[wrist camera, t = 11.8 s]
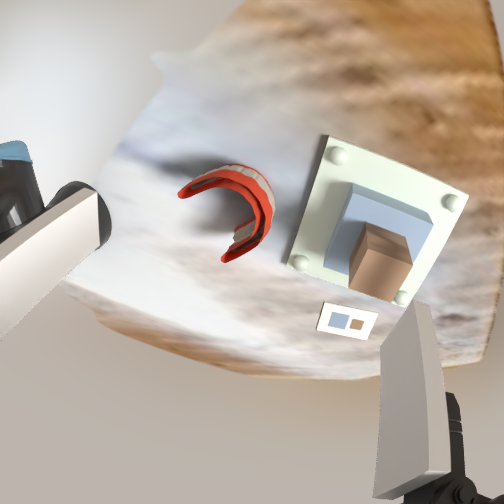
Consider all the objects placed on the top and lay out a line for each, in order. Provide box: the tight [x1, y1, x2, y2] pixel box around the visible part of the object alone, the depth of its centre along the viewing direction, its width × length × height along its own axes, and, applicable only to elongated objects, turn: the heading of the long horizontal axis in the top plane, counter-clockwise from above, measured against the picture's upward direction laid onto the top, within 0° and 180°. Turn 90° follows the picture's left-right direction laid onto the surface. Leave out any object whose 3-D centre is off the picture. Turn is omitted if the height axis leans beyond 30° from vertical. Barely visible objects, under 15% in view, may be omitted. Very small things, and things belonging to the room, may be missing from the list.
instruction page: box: [317, 302, 378, 340], centre depth 56 cm, size 10×7×1 cm
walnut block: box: [348, 222, 413, 303], centre depth 39 cm, size 6×6×7 cm
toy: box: [178, 165, 275, 263], centre depth 45 cm, size 12×10×8 cm
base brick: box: [323, 183, 434, 276], centre depth 43 cm, size 12×12×4 cm
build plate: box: [286, 135, 469, 308], centre depth 45 cm, size 22×22×2 cm
